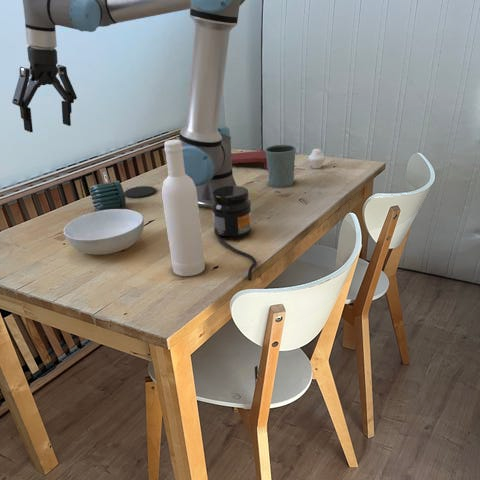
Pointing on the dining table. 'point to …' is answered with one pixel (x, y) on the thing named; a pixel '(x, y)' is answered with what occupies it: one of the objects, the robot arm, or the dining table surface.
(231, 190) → the supplement container
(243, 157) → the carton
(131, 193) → the coaster
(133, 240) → the serving bowl
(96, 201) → the teal ridged cylinder
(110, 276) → the dining table surface
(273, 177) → the green plant pot
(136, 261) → the dining table surface
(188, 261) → the bottle
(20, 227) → the dining table surface
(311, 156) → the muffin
